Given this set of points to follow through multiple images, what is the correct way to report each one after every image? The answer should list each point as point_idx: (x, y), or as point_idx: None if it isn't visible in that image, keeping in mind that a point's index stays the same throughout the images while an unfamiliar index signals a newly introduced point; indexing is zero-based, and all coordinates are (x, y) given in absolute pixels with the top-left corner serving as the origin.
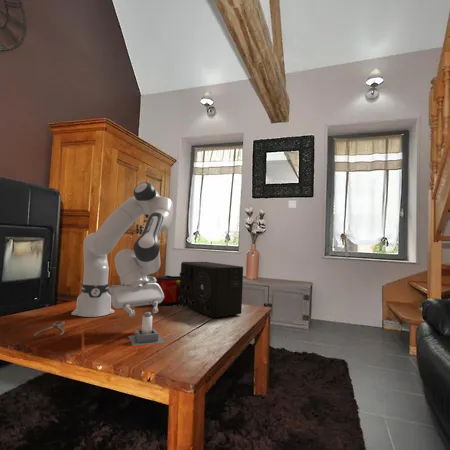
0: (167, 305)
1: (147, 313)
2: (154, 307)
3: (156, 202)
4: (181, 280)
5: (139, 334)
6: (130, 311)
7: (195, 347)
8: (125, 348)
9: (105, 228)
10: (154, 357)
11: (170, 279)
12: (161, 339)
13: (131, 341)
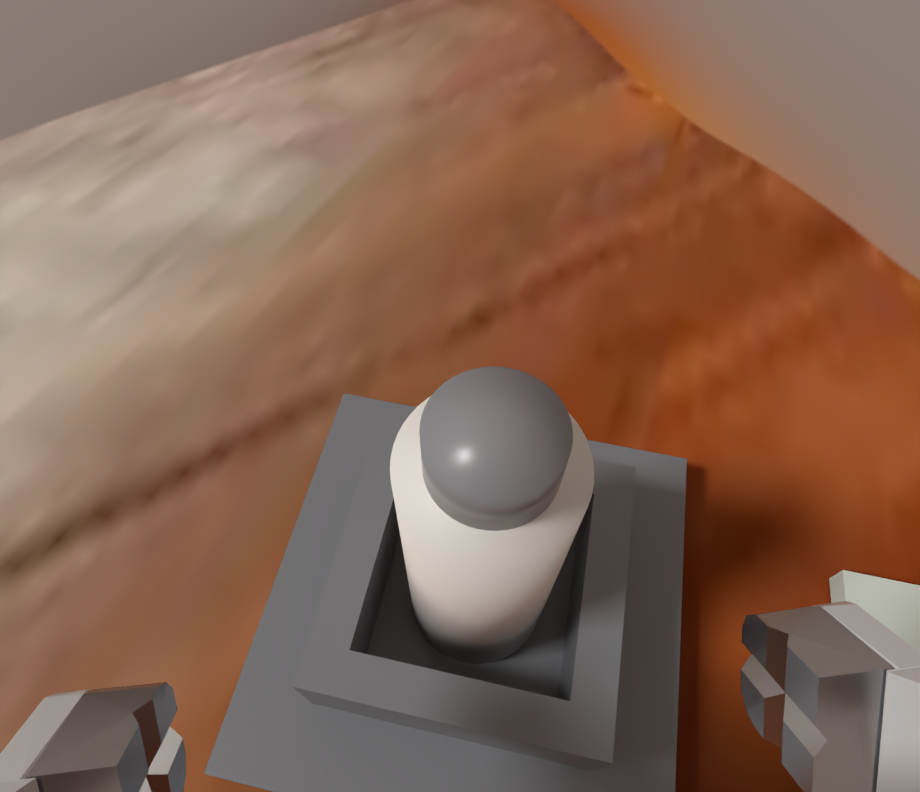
0: None
1: (520, 390)
2: (102, 751)
3: None
4: None
5: (608, 503)
6: (910, 663)
7: (156, 255)
8: (744, 511)
9: None
10: (555, 232)
11: None
12: (324, 491)
13: (673, 591)
